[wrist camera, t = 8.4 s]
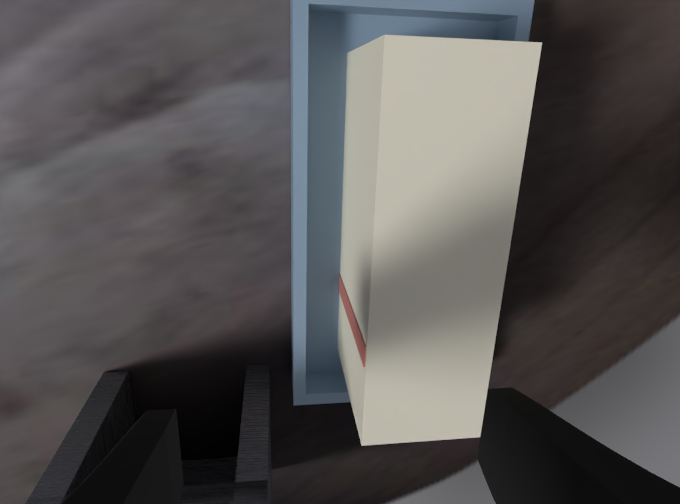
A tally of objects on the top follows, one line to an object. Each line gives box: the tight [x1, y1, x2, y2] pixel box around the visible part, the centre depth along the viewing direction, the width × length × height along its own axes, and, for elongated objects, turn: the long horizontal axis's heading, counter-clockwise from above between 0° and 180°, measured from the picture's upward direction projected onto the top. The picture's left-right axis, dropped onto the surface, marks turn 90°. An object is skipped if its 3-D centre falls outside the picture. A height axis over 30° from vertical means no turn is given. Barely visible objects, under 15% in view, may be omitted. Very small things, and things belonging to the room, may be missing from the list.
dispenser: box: [25, 365, 272, 504], centre depth 18 cm, size 7×6×8 cm
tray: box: [290, 0, 535, 406], centre depth 18 cm, size 8×16×2 cm, turn 178°
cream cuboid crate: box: [337, 35, 542, 446], centre depth 16 cm, size 4×12×6 cm, turn 178°
